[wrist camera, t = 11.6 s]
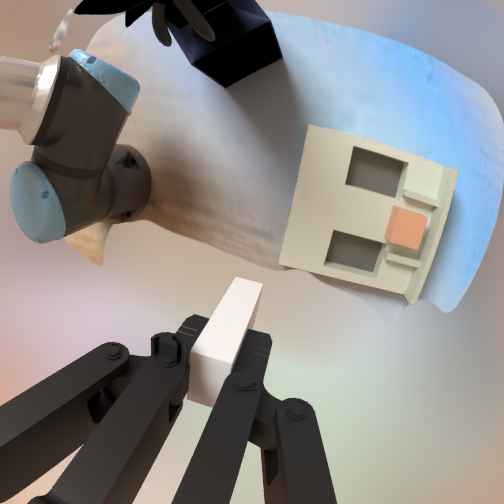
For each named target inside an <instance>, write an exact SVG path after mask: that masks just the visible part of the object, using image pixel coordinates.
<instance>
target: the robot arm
mask: <svg viewBox="0 0 504 504" xmlns="http://www.w3.org/2000/svg"><path fill="white" fill-rule="evenodd" d="M139 92H140V85H139V83H138V81H137V80H136V79H135V78H133V77H132V76H130V75H128V74H127V73H125V72H123V71H121V70H119V69H118V68H116V67H114V66H112V65H110V64H108V63H106V62H104V61H102V60H100V59H98V58H96V57H94V56H92V55H90V54H88V53H86V52H84V51H82V50H79V49H75V50H73V51H72V52H71V53H70V54H69V58H66V57H63V56H59V55H55V56H53V57H51V58H50V59H48V60H46V61H44V62H43V63H35V62H31V61H26V60H20V59H15V58H9V57H3V56H0V129H6V130H14V131H18V132H19V133H20V135H21V137H22V139H23V140H24V142H25V144H28V145H35V147H34V151H33V154H32V158H31V161H26V162H23V163H22V164H20V165H19V166H18V168H16V169H15V171H14V173H13V175H12V178H11V184H10V198H11V205H12V209H13V212H14V215H15V218H16V221H17V222H18V225H19V226H20V228H21V230H22V231H23V232H24V234H25V235H26V236H27V237H28V238H30V239H31V240H32V241H34V242H37V243H47V242H50V241H53V240H58V239H61V238H63V237H65V236H67V235H70V234H72V233H74V232H76V231H79V230H81V229H83V228H86V227H88V226H90V225H93V224H95V223H97V222H103V223H112V224H119V223H123V222H126V221H129V220H131V219H133V218H135V217H136V216H137V215H139V214H140V213H141V211H142V210H143V209H144V207H145V206H146V204H147V201H148V198H149V195H150V189H151V178H150V172H149V168H148V166H147V163H146V161H145V159H144V158H143V156H142V155H141V154H140V153H139V152H138V151H137V150H136V149H135V148H133V147H131V146H129V145H125V144H116V142H117V140H118V138H119V136H120V133H121V131H122V129H123V127H124V125H125V123H126V121H127V118H128V116H129V115H131V113H132V111H131V110H132V107H133V105H134V103H135V101H136V99H137V97H138V95H139ZM262 287H263V284H262V283H258V282H254V281H250V280H246V279H243V278H239V277H236V278H235V279H234V281H233V282H232V284H231V286H230V287H229V289H228V291H227V292H226V294H225V295H224V297H223V299H222V300H221V302H220V304H219V305H218V307H217V308H216V310H215V312H214V313H213V315H212V316H211V318H210V319H209V318H205V317H202V316H199V315H196V314H194V315H192V316H190V317H188V318H186V320H185V321H184V322H183V324H182V325H181V327H180V328H179V330H178V331H177V332H176V333H175V334H174V333H169V332H164V333H163V332H162V333H158V334H155V335H154V336H153V337H151V356H147V357H145V356H136V355H130V354H129V351H128V349H127V348H126V347H125V346H124V345H122V344H120V343H116V342H107V343H104V344H102V345H100V346H98V347H97V348H95V349H93V350H92V351H90V352H89V353H87V354H85V355H84V356H82V357H80V358H79V359H77V360H75V361H74V362H72V363H71V364H69V365H67V366H65V367H64V368H62V369H61V370H59V371H57V372H56V373H54V374H52V375H51V376H49V377H47V378H46V379H44V380H42V381H41V382H39V383H38V384H36V385H34V386H33V387H31V388H29V389H28V390H26V391H24V392H23V393H21V394H20V395H18V396H16V397H15V398H13V399H11V400H10V401H8V402H6V403H5V404H3V405H1V406H0V503H3V502H5V501H7V500H8V499H10V498H12V497H13V496H15V495H16V494H17V493H19V492H20V491H22V490H23V489H25V488H26V487H27V486H29V485H30V484H31V483H33V482H34V481H35V480H37V479H38V478H40V477H41V476H42V475H44V474H45V473H46V472H47V471H49V470H50V469H51V468H53V467H54V466H56V465H57V464H58V463H60V462H61V461H62V460H63V459H65V458H66V457H67V456H69V455H70V454H71V453H73V452H74V451H75V450H77V449H78V448H79V447H80V446H82V445H83V446H82V447H81V449H80V450H79V451H78V453H77V454H76V455H75V457H74V458H73V459H72V461H71V462H70V464H69V465H68V466H67V468H66V469H65V470H64V472H63V473H62V475H61V476H60V477H59V479H58V480H57V482H56V483H55V484H54V486H53V487H52V489H51V490H50V491H49V492H48V493H47V494H46V495H43V496H37V497H34V498H33V499H31V500H30V501H29V502H28V503H27V504H132V503H133V501H134V499H135V497H136V495H137V493H138V492H139V490H140V488H141V486H142V484H143V482H144V480H145V478H146V477H147V475H148V473H149V471H150V469H151V467H152V465H153V463H154V461H155V459H156V458H157V456H158V454H159V452H160V450H161V448H162V446H163V444H164V442H165V440H166V439H167V437H168V435H169V433H170V431H171V429H172V427H173V425H174V423H175V421H176V419H177V417H178V416H179V413H180V411H181V410H182V406H183V399H184V397H185V395H186V394H187V399H188V400H191V401H194V402H197V403H200V404H203V405H206V406H209V407H212V408H213V409H212V412H211V414H210V416H209V419H208V421H207V423H206V426H205V428H204V431H203V433H202V435H201V438H200V440H199V442H198V444H197V447H196V449H195V451H194V454H193V456H192V458H191V460H190V463H189V465H188V467H187V470H186V472H185V474H184V476H183V479H182V481H181V483H180V485H179V488H178V490H177V492H176V494H175V497H174V499H173V501H172V503H171V504H229V503H230V499H231V496H232V493H233V490H234V487H235V483H236V480H237V477H238V473H239V470H240V466H241V463H242V459H243V456H244V453H245V449H246V445H247V442H248V441H249V442H251V443H253V444H255V445H257V446H258V447H260V448H261V460H262V472H263V473H262V474H263V486H264V498H265V504H337V501H336V497H335V493H334V488H333V484H332V480H331V476H330V471H329V467H328V463H327V459H326V455H325V451H324V447H323V443H322V439H321V435H320V430H319V426H318V422H317V418H316V414H315V411H314V409H313V407H312V406H311V405H310V404H309V403H308V402H306V401H304V400H302V399H297V398H288V399H285V400H283V401H281V400H279V399H277V398H275V397H274V396H272V395H270V394H269V393H268V392H267V390H266V389H265V387H264V384H263V379H264V374H265V371H266V367H267V363H268V359H269V355H270V350H271V346H272V340H271V337H270V334H266V333H262V332H258V331H255V330H252V328H253V326H254V322H255V318H256V313H257V309H258V305H259V300H260V296H261V292H262Z"/></svg>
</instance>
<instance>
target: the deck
mask: <svg viewBox="0 0 504 504" xmlns="http://www.w3.org/2000/svg"><path fill="white" fill-rule="evenodd" d="M458 170H459V169H456V168H454V167H448V166H442V165H440V164H438V163H435V162H432V161H430V160H427V159H425V158H422V157H419V156H417V155H414V154H411V153H408V152H406V151H403V150H400V149H397V148H394V147H391V146H388V145H385V144H381V143H378V142H375V141H372V140H368V139H365V138H362V137H358V136H354V135H351V134H347V133H343V132H340V131H336V130H332V129H328V128H324V127H319V126H315V125H310V124H308V129H307V134H306V139H305V144H304V149H303V154H302V159H301V163H300V168H299V173H298V178H297V182H296V187H295V191H294V196H293V201H292V205H291V210H290V214H289V219H288V223H287V227H286V232H285V236H284V241H283V245H282V249H281V254H280V258H279V262H278V264H280V265H284V266H288V267H292V268H297V269H301V270H305V271H309V272H313V273H317V274H321V275H325V276H329V277H334V278H338V279H342V280H346V281H350V282H354V283H358V284H362V285H367V286H371V287H375V288H379V289H383V290H387V291H392V292H396V293H400V294H404V295H405V297H406V299H407V300H408V302H409V304H411V305H415V304H416V301H417V299H418V297H419V294H420V292H421V290H422V287H423V285H424V282H425V280H426V277H427V275H428V272H429V269H430V267H431V264H432V261H433V258H434V256H435V253H436V250H437V247H438V244H439V241H440V238H441V235H442V231H443V228H444V225H445V222H446V218H447V215H448V211H449V207H450V204H451V200H452V196H453V192H454V188H455V184H456V179H457V175H458ZM393 205H395V206H398V207H401V208H404V209H407V210H410V211H413V212H416V213H419V214H422V215H424V216H425V217H427V218H428V220H427V223H426V226H425V230H424V233H423V236H422V239H421V242H420V245H419V248H418V250H416V249H413V248H409V247H406V246H402V245H399V244H395V243H392V242H389V241H388V240H387V239H386V237H385V232H386V229H387V226H388V222H389V219H390V215H391V212H392V208H393Z"/></svg>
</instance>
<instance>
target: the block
mask: <svg viewBox="0 0 504 504" xmlns="http://www.w3.org/2000/svg"><path fill="white" fill-rule="evenodd" d="M427 220H428V218H427V217H425V216H424V215H422V214H419V213H416V212H413V211H410V210H407V209H404V208H401V207H398V206H395V205H393V208H392V212H391V215H390V219H389V222H388V226H387V229H386V232H385V237H386V239H387V240H388V241H389V242H392V243H395V244H399V245H402V246H406V247H409V248H413V249H416V250H418V248H419V245H420V242H421V239H422V236H423V233H424V230H425V226H426V223H427Z"/></svg>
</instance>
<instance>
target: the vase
mask: <svg viewBox="0 0 504 504" xmlns="http://www.w3.org/2000/svg"><path fill="white" fill-rule="evenodd" d="M152 6H153V9H152V25H153V29H154V33H155V35H156V37H157V39H158V40H159V42H161V43H162V44H163V45H164V46H167V47H169V46H171V44H172V39H171V36H170V33H169V31H168V28H169V30H170V31H171V33H172V35H173V36H174V38H175V39H176V41H177V43H178V44H179V46H180V48H181V49H182V51H183V52H184V54H185V56H186V57H187V59H188V61H189V62H190V64H191V65H192V66H194V67H195V68H197V69H198V70H200V71H201V72H203V73H204V74H205V75H207V76H208V77H210V78H211V79H213V80H214V81H215V82H217V83H218V84H220V85H221V86H222V87H224V88H227V87H229V86H231V85H232V84H234V83H236V82H238V81H239V80H241V79H243V78H245V77H247V76H248V75H250V74H252V73H254V72H256V71H258V70H260V69H262V68H264V67H266V66H268V65H270V64H272V63H274V62H276V61H278V60H280V59H282V58H283V56H282V53H281V50H280V47H279V43H278V40H277V37H276V34H275V31H274V28H273V25H272V22H271V20H270V19H269V17H268V16H267V15H266V14H265V12H264V11H263V10H262V9H261V7H260V6H259V5H258V4H257V2H256V1H255V0H83V1H82V2H81V3H80V4H79V5H78V6H77V7H76V9H75V11H74V13H75V14H78V15H84V14H91V15H107V14H115V13H121V12H124V11H126V15H125V26H126V27H129V26H130V25H131V24H132V23H133V22H134V21H136V20H137V19H138V18H139V17H140V16H142V15H143V14H144V13H145V12H146V11H148V10H149V9H150V8H151V7H152ZM167 27H168V28H167Z"/></svg>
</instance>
